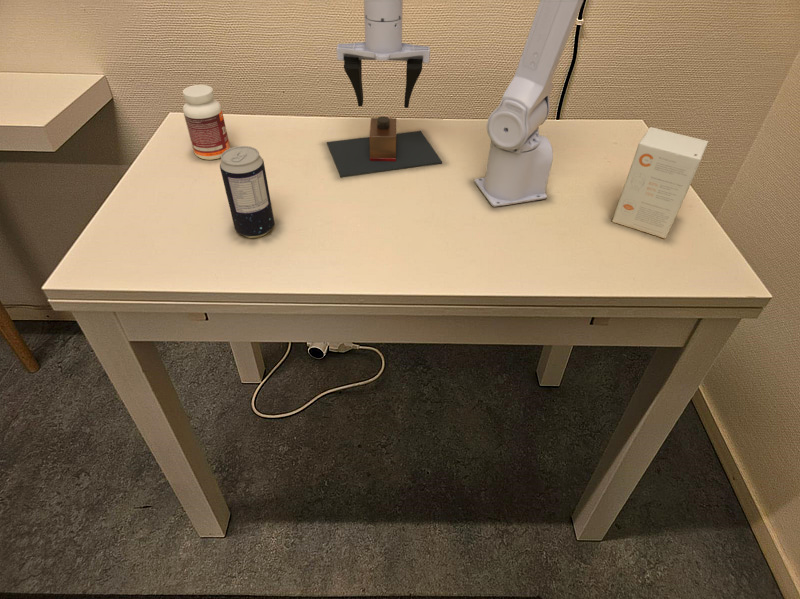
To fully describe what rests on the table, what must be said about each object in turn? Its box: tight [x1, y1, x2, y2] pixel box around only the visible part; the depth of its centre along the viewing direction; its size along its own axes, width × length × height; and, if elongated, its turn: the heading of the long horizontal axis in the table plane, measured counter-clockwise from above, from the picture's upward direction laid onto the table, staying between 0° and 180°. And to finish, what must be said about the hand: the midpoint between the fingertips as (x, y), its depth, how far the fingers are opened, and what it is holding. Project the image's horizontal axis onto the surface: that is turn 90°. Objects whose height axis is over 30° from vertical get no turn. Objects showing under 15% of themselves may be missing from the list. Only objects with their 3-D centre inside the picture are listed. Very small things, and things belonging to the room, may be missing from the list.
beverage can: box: [219, 145, 275, 239], centre depth 74 cm, size 6×6×12 cm
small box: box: [611, 126, 709, 239], centre depth 77 cm, size 8×6×13 cm
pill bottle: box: [182, 84, 231, 161], centre depth 90 cm, size 6×6×11 cm
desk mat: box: [326, 130, 443, 178], centre depth 95 cm, size 18×12×1 cm, turn 107°
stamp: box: [368, 115, 397, 161], centre depth 92 cm, size 4×7×6 cm, turn 0°
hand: (383, 104), depth 89 cm, fingers open, 7 cm apart
